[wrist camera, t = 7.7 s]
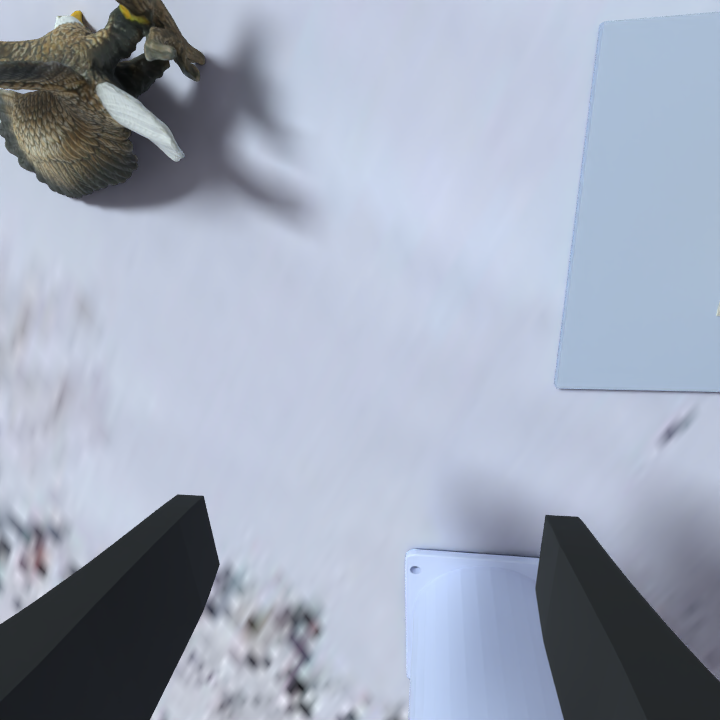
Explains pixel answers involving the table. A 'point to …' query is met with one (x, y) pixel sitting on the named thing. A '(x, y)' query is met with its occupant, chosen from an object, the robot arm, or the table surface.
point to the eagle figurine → (89, 96)
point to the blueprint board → (648, 213)
